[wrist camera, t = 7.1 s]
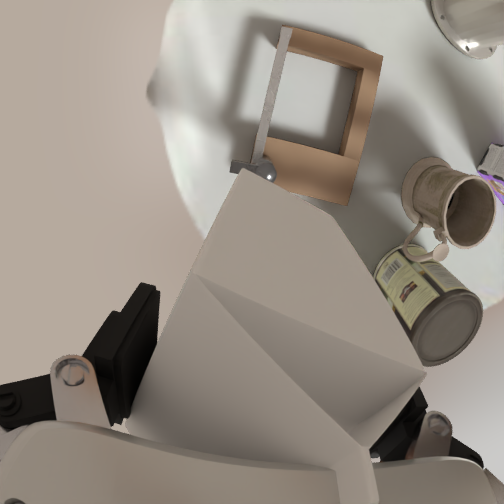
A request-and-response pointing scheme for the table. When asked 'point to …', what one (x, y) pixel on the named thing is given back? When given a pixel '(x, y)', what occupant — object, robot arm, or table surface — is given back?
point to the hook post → (257, 168)
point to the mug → (436, 203)
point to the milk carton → (279, 345)
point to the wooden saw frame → (347, 160)
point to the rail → (271, 93)
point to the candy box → (494, 169)
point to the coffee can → (429, 304)
